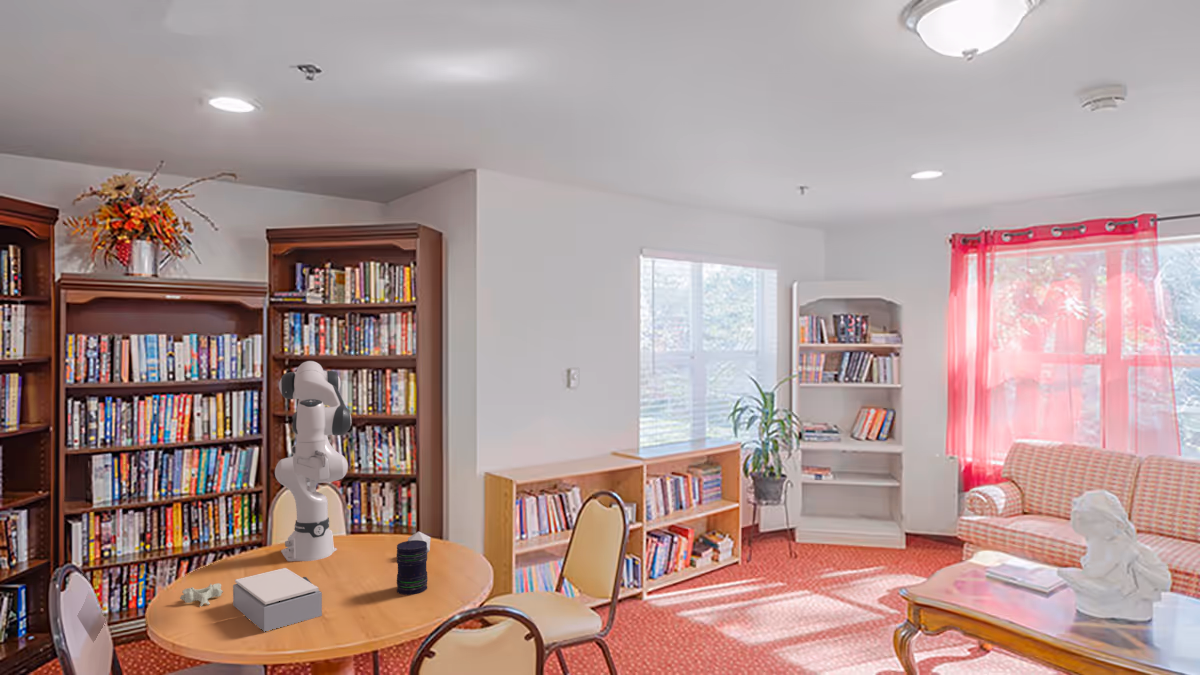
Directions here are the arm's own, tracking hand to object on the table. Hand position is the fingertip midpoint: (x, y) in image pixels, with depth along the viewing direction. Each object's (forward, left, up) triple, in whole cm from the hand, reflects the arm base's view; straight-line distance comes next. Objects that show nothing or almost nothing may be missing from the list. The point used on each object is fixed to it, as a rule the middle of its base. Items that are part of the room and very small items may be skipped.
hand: (311, 491), depth 222 cm
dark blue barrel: (+22, +24, -33) cm, 47 cm away
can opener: (0, -2, -34) cm, 34 cm away
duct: (+8, -14, -33) cm, 37 cm away
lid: (-5, -14, -26) cm, 30 cm away
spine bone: (-16, -28, -34) cm, 47 cm away
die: (-6, +43, -33) cm, 55 cm away
